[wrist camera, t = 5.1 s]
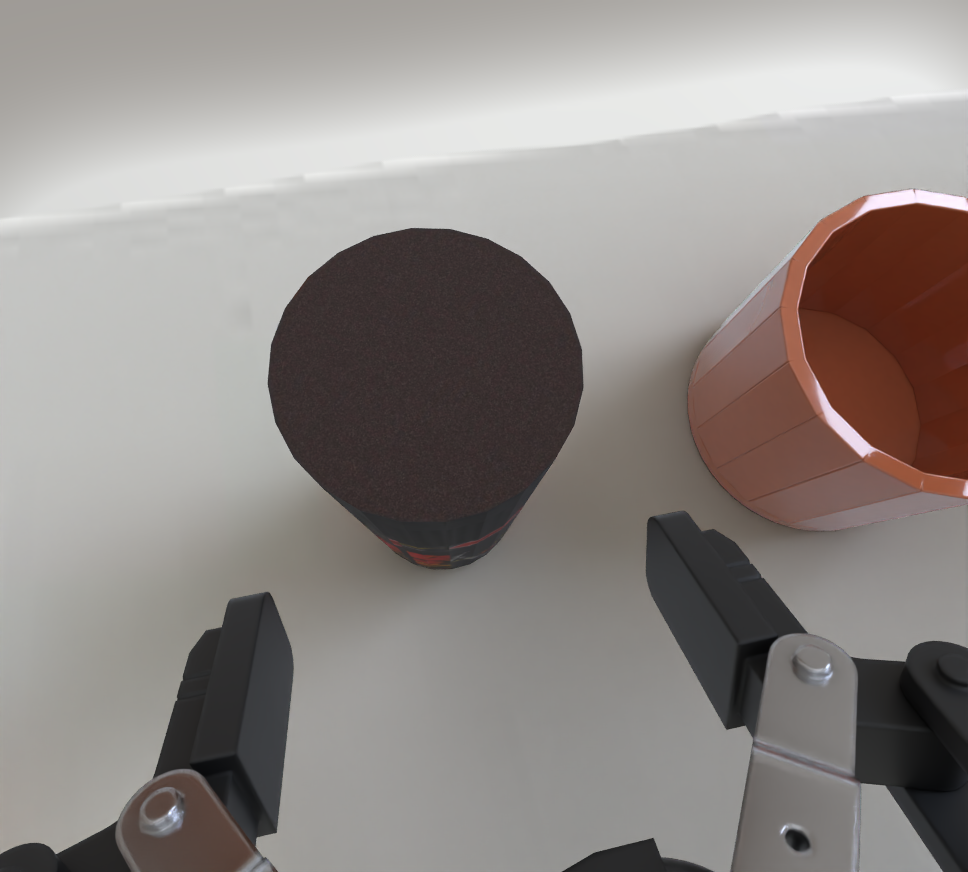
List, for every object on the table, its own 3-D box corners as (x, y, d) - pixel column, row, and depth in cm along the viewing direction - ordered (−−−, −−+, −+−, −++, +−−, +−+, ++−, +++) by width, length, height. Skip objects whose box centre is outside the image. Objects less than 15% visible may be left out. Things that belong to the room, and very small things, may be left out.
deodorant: (364, 436, 27) (260, 241, 13) (503, 420, 28) (557, 215, 13) (377, 578, 26) (275, 543, 11) (524, 559, 26) (609, 501, 12)
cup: (739, 267, 30) (847, 139, 22) (950, 372, 29) (1146, 280, 21) (646, 455, 27) (728, 391, 19) (875, 577, 26) (1063, 564, 18)
